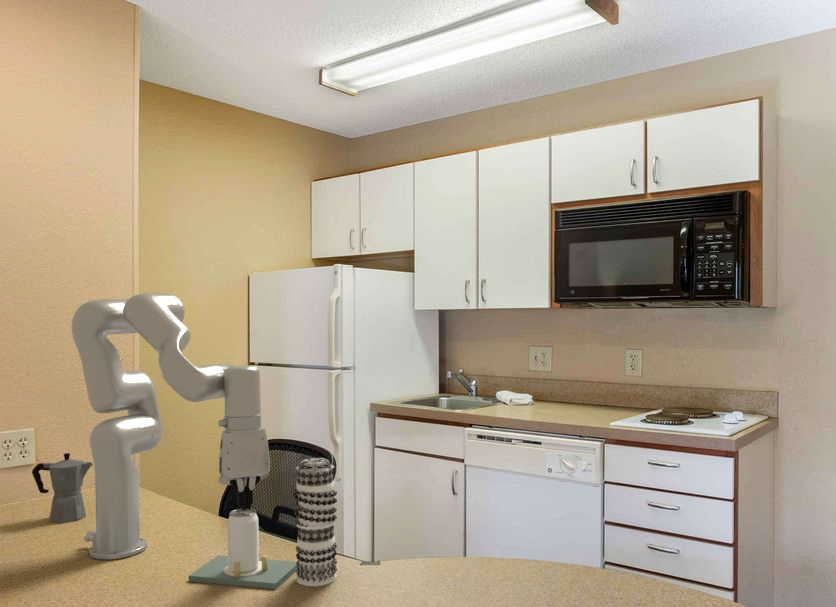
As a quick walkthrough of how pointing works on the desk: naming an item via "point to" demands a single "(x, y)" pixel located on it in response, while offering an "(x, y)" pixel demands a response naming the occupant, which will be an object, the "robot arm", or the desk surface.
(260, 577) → the green board with pegs
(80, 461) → the coffeepot
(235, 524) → the can
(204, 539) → the desk surface
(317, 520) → the decorative candle
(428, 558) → the desk surface
